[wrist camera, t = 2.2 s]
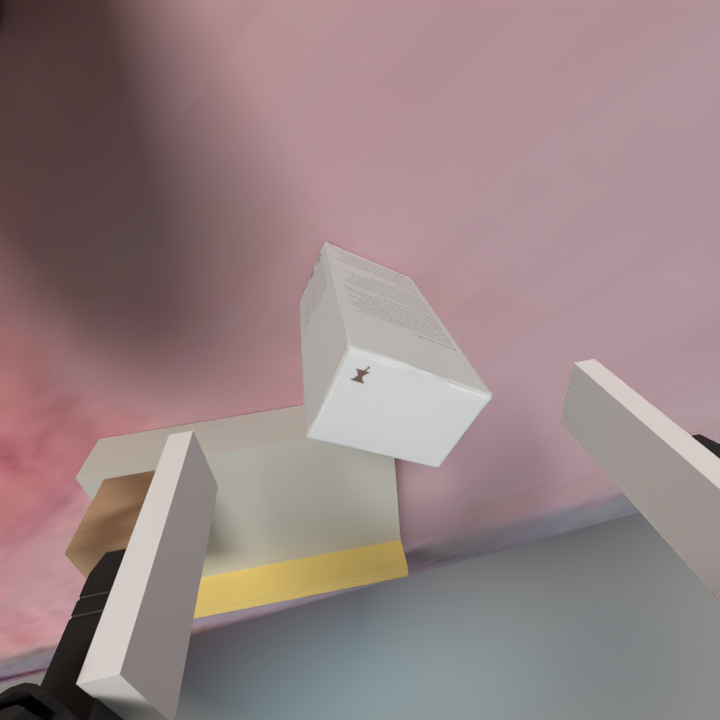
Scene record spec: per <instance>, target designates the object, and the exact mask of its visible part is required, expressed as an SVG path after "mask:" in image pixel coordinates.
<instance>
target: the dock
mask: <svg viewBox="0 0 720 720" xmlns="http://www.w3.org/2000/svg"><path fill="white" fill-rule="evenodd" d="M188 431H194V434H195V436H196V438H197V440H198V443H199V445H200V447H201V449H202V452H203V454H204V456H205V458H206V460H207V463H208V465H209V467H210V469H211V472H212V474H213V476H214V478H215V481H216V483H217V485H218V491H217V496H216V501H215V507H214V512H213V517H212V522H211V528H210V533H209V538H208V544H207V549H206V554H205V560H204V565H203V570H202V576H201V581H200V586H199V591H198V597H197V602H196V607H195V613H194V618H199V617H204V616H209V615H214V614H219V613H224V612H229V611H234V610H239V609H244V608H249V607H254V606H260V605H265V604H270V603H275V602H280V601H285V600H290V599H295V598H300V597H305V596H310V595H315V594H320V593H325V592H330V591H335V590H340V589H346V588H351V587H356V586H361V585H366V584H371V583H376V582H381V581H386V580H391V579H396V578H401V577H406V576H408V567H407V563H406V559H405V555H404V551H403V547H402V543H401V536H400V523H399V510H398V497H397V484H396V471H395V458H392V457H388V456H383V455H379V454H375V453H370V452H366V451H362V450H358V449H353V448H349V447H344V446H340V445H336V444H332V443H327V442H322V441H318V440H313V439H309V438H307V437H306V434H305V417H304V405H299V406H293V407H287V408H281V409H275V410H269V411H263V412H257V413H251V414H245V415H239V416H233V417H228V418H222V419H216V420H210V421H204V422H198V423H192V424H186V425H180V426H174V427H168V428H162V429H156V430H150V431H144V432H138V433H132V434H126V435H120V436H114V437H108V438H102V439H99V440H98V442H97V443H96V445H95V447H94V448H93V450H92V452H91V453H90V455H89V457H88V458H87V460H86V461H85V463H84V465H83V466H82V468H81V470H80V471H79V473H78V475H77V476H76V480H77V481H78V482H79V484H80V485H81V486H82V488H83V489H84V491H85V492H86V493H87V495H88V496H89V497H90V499H91V500H92V501H93V499H94V497H95V495H96V493H97V491H98V489H99V488H100V486H101V484H102V482H103V480H104V479H108V478H114V477H120V476H125V475H131V474H137V473H143V472H148V471H154V470H156V469H157V466H158V463H159V461H160V458H161V455H162V453H163V450H164V447H165V444H166V442H167V439H168V436H169V435H171V434H177V433H182V432H188ZM194 618H193V619H194Z"/></svg>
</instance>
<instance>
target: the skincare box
mask: <svg viewBox="0 0 720 720" xmlns="http://www.w3.org/2000/svg"><path fill="white" fill-rule="evenodd" d="M299 305H300V327H301V349H302V371H303V395H304V417H305V434H306V437H307V438H309V439H313V440H318V441H322V442H327V443H332V444H336V445H340V446H344V447H349V448H353V449H358V450H362V451H366V452H370V453H375V454H379V455H383V456H388V457H392V458H397V459H401V460H405V461H410V462H414V463H418V464H423V465H427V466H431V467H434V468H439V467H440V465H441V464H442V462H443V461H444V460H445V458H446V457H447V456H448V454H449V453H450V452H451V450H452V449H453V448H454V446H455V445H456V444H457V442H458V441H459V440H460V438H461V437H462V436H463V434H464V433H465V432H466V430H467V429H468V428H469V427H470V425H471V424H472V423H473V421H474V420H475V419H476V418H477V416H478V415H479V414H480V413H481V411H482V410H483V409H484V407H485V406H486V405H487V404H488V403H489V401H490V400H491V399H492V393H491V392H490V390H489V389H488V387H487V386H486V385H485V383H484V382H483V381H482V379H481V378H480V376H479V375H478V373H477V372H476V370H475V369H474V367H473V366H472V365H471V363H470V362H469V360H468V359H467V357H466V356H465V354H464V353H463V352H462V350H461V349H460V347H459V346H458V345H457V343H456V342H455V340H454V339H453V337H452V336H451V334H450V333H449V332H448V330H447V329H446V327H445V326H444V324H443V323H442V322H441V320H440V319H439V317H438V316H437V314H436V313H435V311H434V310H433V309H432V307H431V306H430V304H429V303H428V302H427V300H426V299H425V297H424V296H423V294H422V293H421V291H420V290H419V289H418V287H417V286H416V284H415V283H414V281H413V280H412V279H411V278H409V277H407V276H405V275H402V274H400V273H398V272H395V271H393V270H391V269H388V268H386V267H384V266H381V265H379V264H377V263H374V262H372V261H370V260H367V259H365V258H362V257H360V256H358V255H356V254H353V253H351V252H348V251H346V250H344V249H341V248H339V247H337V246H334V245H332V244H330V243H327V242H325V243H324V245H323V247H322V249H321V252H320V254H319V257H318V259H317V261H316V264H315V266H314V268H313V271H312V273H311V276H310V278H309V281H308V283H307V286H306V288H305V291H304V293H303V296H302V298H301V300H300V304H299Z"/></svg>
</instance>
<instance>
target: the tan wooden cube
mask: <svg viewBox="0 0 720 720" xmlns="http://www.w3.org/2000/svg"><path fill="white" fill-rule="evenodd" d="M155 471H156V470H154V471H148V472H143V473H137V474H131V475H125V476H120V477H114V478H108V479H104V480H103V482H102V484H101V486H100V488H99V489H98V491H97V493H96V495H95V497H94V499H93V501H92V503H91V505H90V507H89V508H88V510H87V512H86V514H85V516H84V518H83V520H82V522H81V524H80V526H79V527H78V529H77V531H76V533H75V535H74V537H73V539H72V541H71V543H70V545H69V546H68V548H67V550H66V552H65V555H66V556H67V557H68V558H69V559H70V560H71V562H72V563H73V564H74V565H75V566H76V567H77V568H78V570H79V571H80V572H81V573H82V574H83V575H84V576H85V577H86V579H87V578H88V576H89V573H90V572H91V571H92V570H93V568H94V567H95V566H96V565H97V563H98V562H99V561H100V560H101V558H102V557H103V556H104V554H105V553H106V552H111V551H117V550H122V549H127V546H128V544H129V541H130V538H131V536H132V533H133V530H134V528H135V525H136V522H137V520H138V517H139V514H140V511H141V509H142V506H143V503H144V501H145V498H146V495H147V493H148V490H149V487H150V485H151V482H152V479H153V477H154V474H155Z"/></svg>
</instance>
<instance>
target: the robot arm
mask: <svg viewBox="0 0 720 720" xmlns="http://www.w3.org/2000/svg"><path fill="white" fill-rule="evenodd" d="M560 422H561V423H562V424H563V426H564V427H565V428H566V429H567V430H568V431H569V432H570V433H571V435H572V436H573V437H574V438H575V439H576V440H577V441H578V442H579V444H580V445H581V446H582V447H583V448H584V449H585V450H586V452H587V453H588V454H589V455H590V456H591V457H592V458H593V459H594V461H595V462H596V463H597V464H598V465H599V466H600V467H601V468H602V470H603V471H604V472H605V473H606V474H607V475H608V476H609V477H610V479H611V480H612V481H613V482H614V483H615V484H616V485H617V486H618V488H619V489H620V490H621V491H622V492H623V493H624V494H625V495H626V497H627V498H628V499H629V500H630V501H631V502H632V503H633V505H634V506H635V507H636V508H637V509H638V510H639V511H640V512H641V514H642V515H643V516H644V517H645V518H646V519H647V520H648V521H649V523H650V524H651V525H652V526H653V527H654V528H655V529H656V530H657V531H658V533H659V534H660V535H661V536H662V537H663V538H664V539H665V541H666V542H667V543H668V544H669V545H670V546H671V547H672V548H673V549H674V551H675V552H676V553H677V554H678V555H679V556H680V558H681V559H682V560H683V561H684V562H685V563H686V564H687V565H688V566H689V568H690V569H691V570H692V571H693V572H694V573H695V574H696V575H697V577H698V578H699V579H700V580H701V581H702V582H703V583H704V585H705V586H706V587H707V588H708V589H709V590H710V591H711V593H712V594H713V595H714V596H715V597H716V598H720V444H718V443H716V442H714V441H712V440H710V439H708V438H706V437H704V436H702V435H700V434H698V435H693V436H690V435H689V434H688V433H687V432H685V431H684V430H683V429H682V428H680V427H679V426H678V425H677V424H675V423H674V422H673V421H672V420H670V419H669V418H668V417H667V416H665V415H664V414H663V413H662V412H660V411H659V410H658V409H657V408H655V407H654V406H653V405H652V404H650V403H649V402H648V401H647V400H645V399H644V398H643V397H642V396H640V395H639V394H638V393H636V392H635V391H634V390H633V389H631V388H630V387H629V386H628V385H626V384H625V383H624V382H623V381H621V380H620V379H619V378H618V377H616V376H615V375H614V374H613V373H611V372H610V371H609V370H608V369H606V368H605V367H604V366H603V365H601V364H600V363H599V362H598V361H596V360H595V359H592V360H586V361H581V362H575V363H574V364H573V369H572V373H571V377H570V382H569V386H568V390H567V395H566V399H565V403H564V408H563V412H562V416H561V421H560ZM217 491H218V485H217V483H216V481H215V478H214V476H213V474H212V472H211V469H210V467H209V465H208V463H207V460H206V458H205V456H204V454H203V452H202V449H201V447H200V445H199V443H198V440H197V438H196V436H195V434H194V431H188V432H182V433H177V434H171V435H169V436H168V439H167V442H166V444H165V447H164V450H163V453H162V455H161V458H160V461H159V463H158V466H157V469H156V471H155V474H154V477H153V479H152V482H151V485H150V487H149V490H148V493H147V495H146V498H145V501H144V503H143V506H142V509H141V511H140V514H139V517H138V520H137V522H136V525H135V528H134V530H133V533H132V536H131V538H130V541H129V544H128V546H127V549H122V550H117V551H111V552H106V553H105V554H104V556H103V557H102V558H101V560H100V561H99V562H98V563H97V565H96V566H95V567H94V568H93V570H92V571H91V572H90V573H89V576H88V578H87V580H86V582H85V585H84V587H83V589H82V592H81V594H80V600H79V601H77V603H76V606H75V608H74V610H73V612H72V615H71V616H72V618H71V620H69V622H68V624H67V626H66V629H65V631H64V633H63V635H62V638H61V640H60V642H59V645H58V647H57V649H56V652H55V654H54V656H53V658H52V661H51V663H50V665H49V668H48V670H47V672H46V675H45V677H44V679H43V682H42V684H41V686H39V685H37V684H32V683H23V684H19V685H16V686H13V687H10V688H9V689H7V690H5V691H4V692H2V693H1V694H0V720H174V719H175V713H176V708H177V703H178V697H179V692H180V687H181V681H182V676H183V671H184V665H185V660H186V655H187V650H188V644H189V639H190V634H191V629H192V623H193V618H194V613H195V607H196V602H197V597H198V591H199V586H200V581H201V576H202V570H203V565H204V560H205V554H206V549H207V544H208V538H209V533H210V528H211V522H212V517H213V512H214V507H215V501H216V496H217Z"/></svg>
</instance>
